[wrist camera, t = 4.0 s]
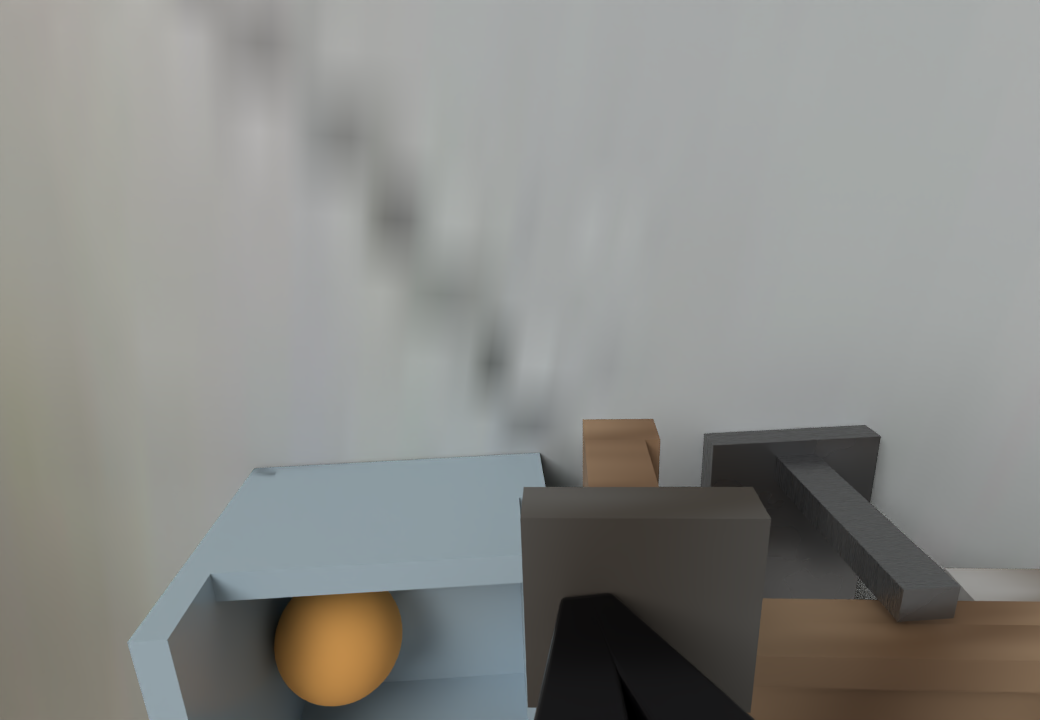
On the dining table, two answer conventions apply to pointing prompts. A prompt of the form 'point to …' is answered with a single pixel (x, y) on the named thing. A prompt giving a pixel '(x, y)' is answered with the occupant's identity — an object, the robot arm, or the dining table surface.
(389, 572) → the box
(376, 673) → the ball
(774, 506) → the pivot stand
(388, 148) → the dining table surface
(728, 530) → the lever
